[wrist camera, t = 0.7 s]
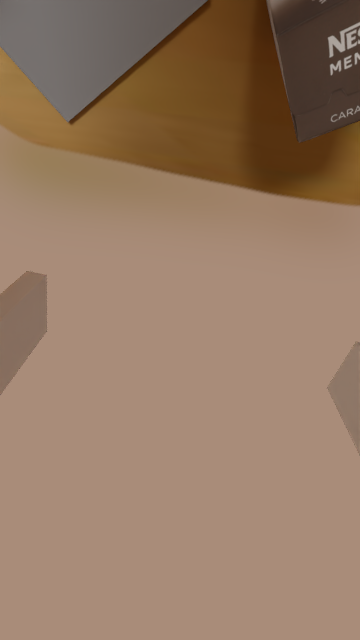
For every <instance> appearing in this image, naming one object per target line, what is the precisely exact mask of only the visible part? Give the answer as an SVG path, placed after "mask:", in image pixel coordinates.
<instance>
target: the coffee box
mask: <svg viewBox="0 0 360 640" xmlns="http://www.w3.org/2000/svg"><path fill="white" fill-rule="evenodd" d="M266 1H267V6H268V11H269V17H270V22H271V27H272V31H273V36H274V41H275V46H276V50H277V54H278V59H279V63H280V68H281V73H282V77H283V81H284V85H285V89H286V94H287V98H288V102H289V107H290V111H291V116H292V120H293V124H294V129H295V133H296V137H297V140H298V142H299V143H301V142H303V141H306V140H309V139H312V138H314V137H317V136H320V135H323V134H325V133H328V132H331V131H333V130H336V129H339V128H341V127H344V126H347V125H349V124H352V123H355V122H357V121H360V0H266Z"/></svg>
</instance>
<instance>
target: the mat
mask: <svg viewBox="0 0 360 640" xmlns="http://www.w3.org/2000/svg"><path fill="white" fill-rule="evenodd" d="M206 1H208V0H0V47H1V48H2V49H3V50H4V51H5V52H6V53H7V55H8V56H9V57H10V58H11V59H12V60H13V61H14V62H15V64H16V65H17V66H18V67H19V68H20V69H21V70H22V71H23V73H24V74H25V75H26V76H27V77H28V78H29V79H30V80H31V82H32V83H33V84H34V85H35V86H36V87H37V88H38V89H39V91H40V92H41V93H42V94H43V95H44V96H45V97H46V98H47V100H48V101H49V102H50V103H51V104H52V105H53V106H54V107H55V108H56V110H57V111H58V112H59V113H60V114H61V115H62V116H63V117H64V119H65V120H66V121H67V122H69V121H70V120H71V119H72V118H73V117H74V116H75V115H77V114H78V113H79V112H80V111H81V110H82V109H84V108H85V107H86V106H87V105H88V104H89V103H90V102H92V101H93V100H94V99H95V98H96V97H97V96H98V95H100V94H101V93H102V92H103V91H104V90H105V89H107V88H108V87H109V86H110V85H111V84H112V83H113V82H115V81H116V80H117V79H118V78H119V77H120V76H121V75H123V74H124V73H125V72H126V71H127V70H128V69H129V68H131V67H132V66H133V65H134V64H135V63H136V62H138V61H139V60H140V59H141V58H142V57H143V56H144V55H146V54H147V53H148V52H149V51H150V50H151V49H152V48H154V47H155V46H156V45H157V44H158V43H159V42H161V41H162V40H163V39H164V38H165V37H166V36H167V35H169V34H170V33H171V32H172V31H173V30H174V29H175V28H177V27H178V26H179V25H180V24H181V23H182V22H183V21H185V20H186V19H187V18H188V17H189V16H190V15H192V14H193V13H194V12H195V11H196V10H197V9H198V8H200V7H201V6H202V5H203V4H204V3H205V2H206Z"/></svg>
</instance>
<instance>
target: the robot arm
mask: <svg viewBox="0 0 360 640" xmlns="http://www.w3.org/2000/svg"><path fill="white" fill-rule="evenodd" d="M46 332H47V275H44V274H39V273H34V272H29V271H26V273H24V274H23V275H22V276H21V277H20V278H19V279H17V280H16V281H15V282H14V283H13V284H12V285H10V286H9V287H8V288H7V289H6V290H5V291H3V293H1V294H0V395H1V394H2V392H3V391H4V389H5V388H6V387H7V385H8V384H9V383H10V381H11V380H12V378H13V377H14V376H15V374H16V373H17V372H18V370H19V369H20V367H21V366H22V365H23V363H24V362H25V360H26V359H27V358H28V356H29V355H30V354H31V352H32V351H33V350H34V348H35V347H36V345H37V344H38V343H39V341H40V340H41V339H42V337H43V336H44V334H45V333H46ZM327 388H328V390H329V393H330V395H331V397H332V399H333V401H334V403H335V405H336V407H337V409H338V411H339V413H340V416H341V418H342V420H343V422H344V424H345V426H346V428H347V430H348V432H349V434H350V436H351V438H352V440H353V443H354V445H355V446H356V449H357V451H358V453H359V455H360V342H355V344H354V345H353V347H352V349H351V350H350V352H349V353H348V355H347V357H346V358H345V360H344V362H343V363H342V365H341V366H340V368H339V369H338V371H337V373H336V374H335V376H334V377H333V379H332V380H331V382H330V384H329V385H328V387H327Z"/></svg>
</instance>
